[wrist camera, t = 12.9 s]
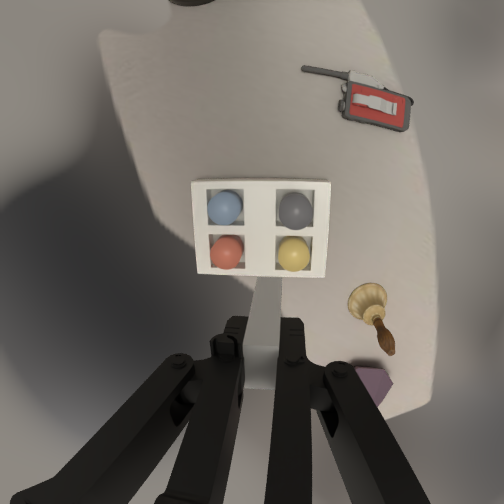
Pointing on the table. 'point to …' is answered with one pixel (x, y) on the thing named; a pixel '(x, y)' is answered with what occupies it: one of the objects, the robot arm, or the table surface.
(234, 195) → the button slate
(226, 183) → the console
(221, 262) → the button brick
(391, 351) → the hand bell
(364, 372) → the flask
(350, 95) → the walkie-talkie
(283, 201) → the button charcoal
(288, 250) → the button mustard
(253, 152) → the table surface
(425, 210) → the table surface
